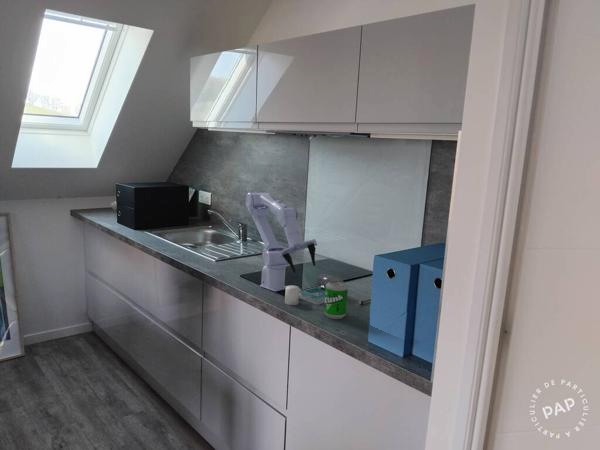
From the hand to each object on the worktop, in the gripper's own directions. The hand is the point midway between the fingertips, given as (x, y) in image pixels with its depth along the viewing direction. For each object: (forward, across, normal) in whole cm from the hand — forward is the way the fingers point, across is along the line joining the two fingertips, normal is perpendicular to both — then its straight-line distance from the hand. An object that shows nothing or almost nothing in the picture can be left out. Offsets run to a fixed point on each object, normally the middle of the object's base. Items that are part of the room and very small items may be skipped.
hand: (304, 268), depth 168 cm
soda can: (+20, +5, -1) cm, 21 cm away
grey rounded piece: (+9, -9, +6) cm, 14 cm away
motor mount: (+8, +2, +16) cm, 18 cm away
